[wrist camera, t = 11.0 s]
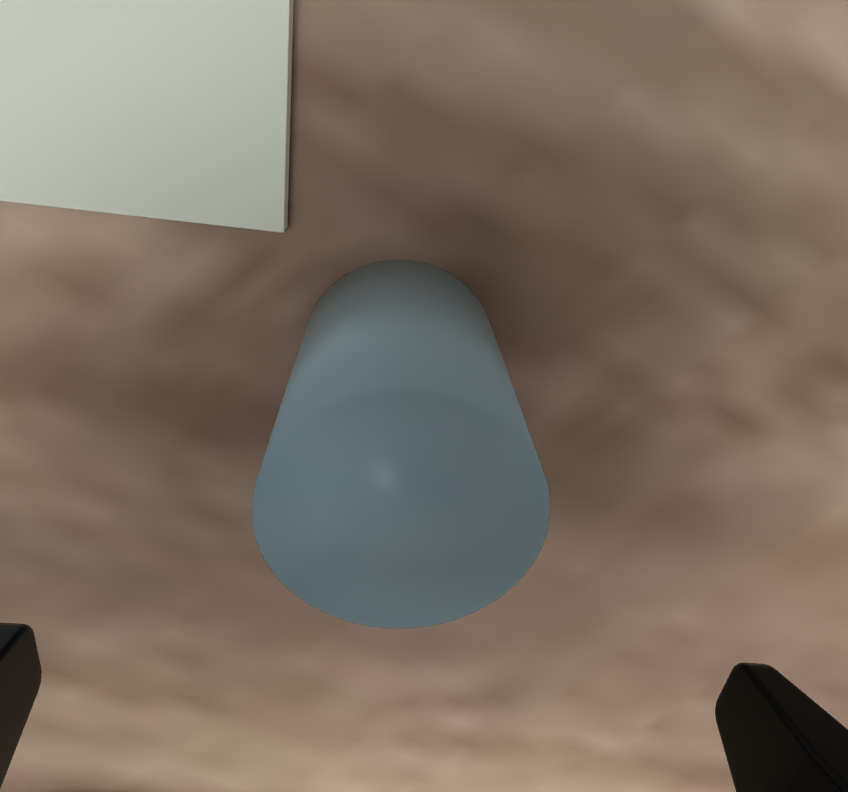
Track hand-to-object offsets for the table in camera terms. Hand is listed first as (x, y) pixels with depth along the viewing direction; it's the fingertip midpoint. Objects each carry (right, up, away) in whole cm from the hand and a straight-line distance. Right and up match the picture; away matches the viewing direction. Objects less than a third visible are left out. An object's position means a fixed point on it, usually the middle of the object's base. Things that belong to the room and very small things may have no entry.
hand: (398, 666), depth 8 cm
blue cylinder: (0, +5, +9) cm, 10 cm away
